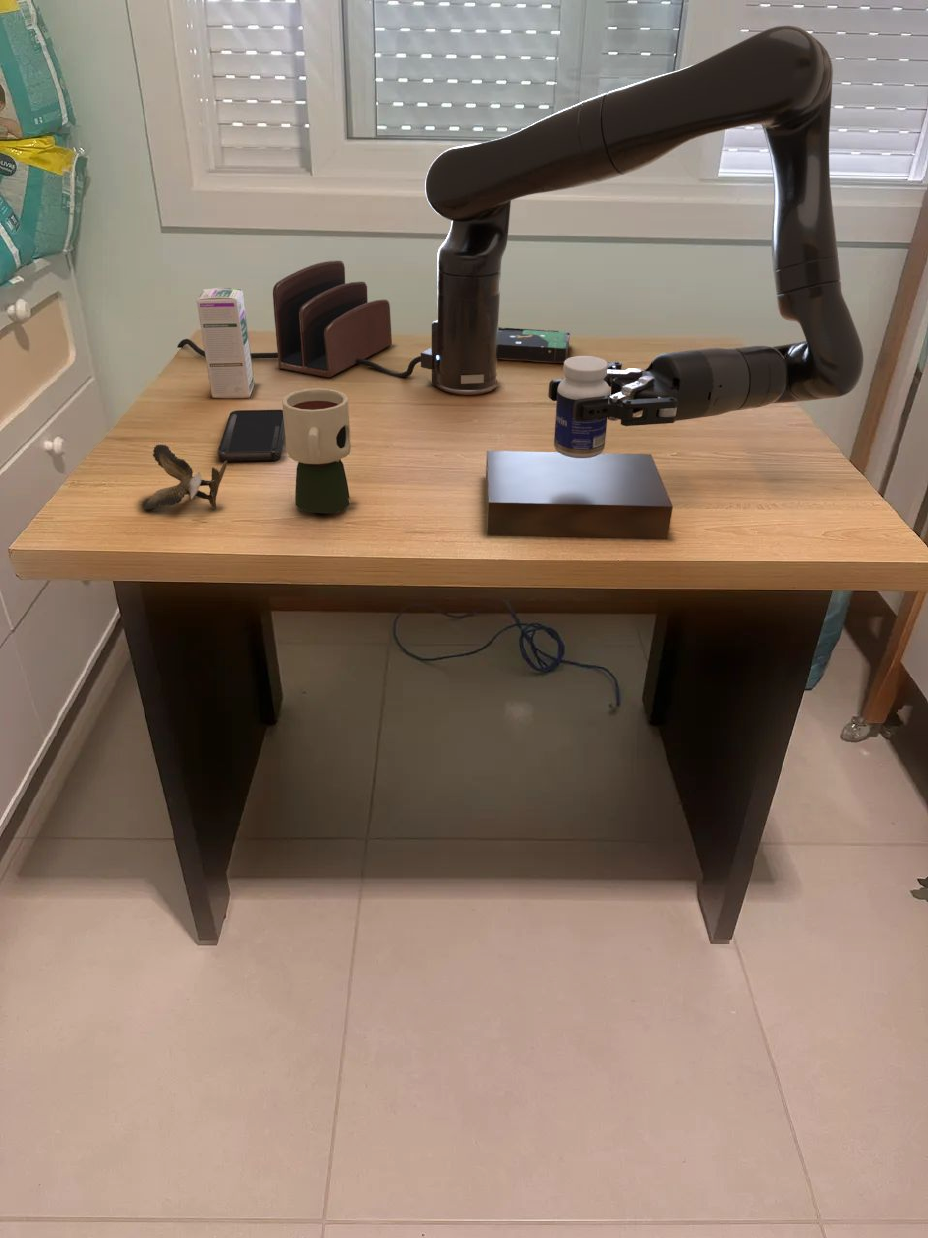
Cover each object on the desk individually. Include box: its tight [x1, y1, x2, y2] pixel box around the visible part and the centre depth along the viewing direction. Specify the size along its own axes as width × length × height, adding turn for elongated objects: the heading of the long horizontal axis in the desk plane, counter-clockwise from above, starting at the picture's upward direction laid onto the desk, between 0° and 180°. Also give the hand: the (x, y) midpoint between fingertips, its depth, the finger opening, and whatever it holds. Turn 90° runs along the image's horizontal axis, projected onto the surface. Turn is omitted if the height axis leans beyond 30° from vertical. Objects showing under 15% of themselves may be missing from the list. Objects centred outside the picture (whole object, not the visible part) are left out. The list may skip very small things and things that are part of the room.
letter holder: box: [272, 260, 393, 379], centre depth 144 cm, size 10×20×14 cm, turn 154°
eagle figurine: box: [141, 444, 228, 510], centre depth 101 cm, size 8×7×9 cm
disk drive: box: [497, 326, 571, 364], centre depth 152 cm, size 10×3×15 cm
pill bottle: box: [553, 355, 611, 458], centre depth 97 cm, size 6×6×10 cm
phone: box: [217, 409, 285, 463], centre depth 118 cm, size 8×1×15 cm
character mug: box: [281, 387, 352, 515], centre depth 99 cm, size 11×7×13 cm, turn 4°
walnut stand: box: [485, 450, 674, 540], centre depth 103 cm, size 20×14×4 cm
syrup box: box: [196, 287, 256, 399], centre depth 129 cm, size 6×6×14 cm
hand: (562, 400), depth 96 cm, fingers closed on pill bottle, 5 cm apart
